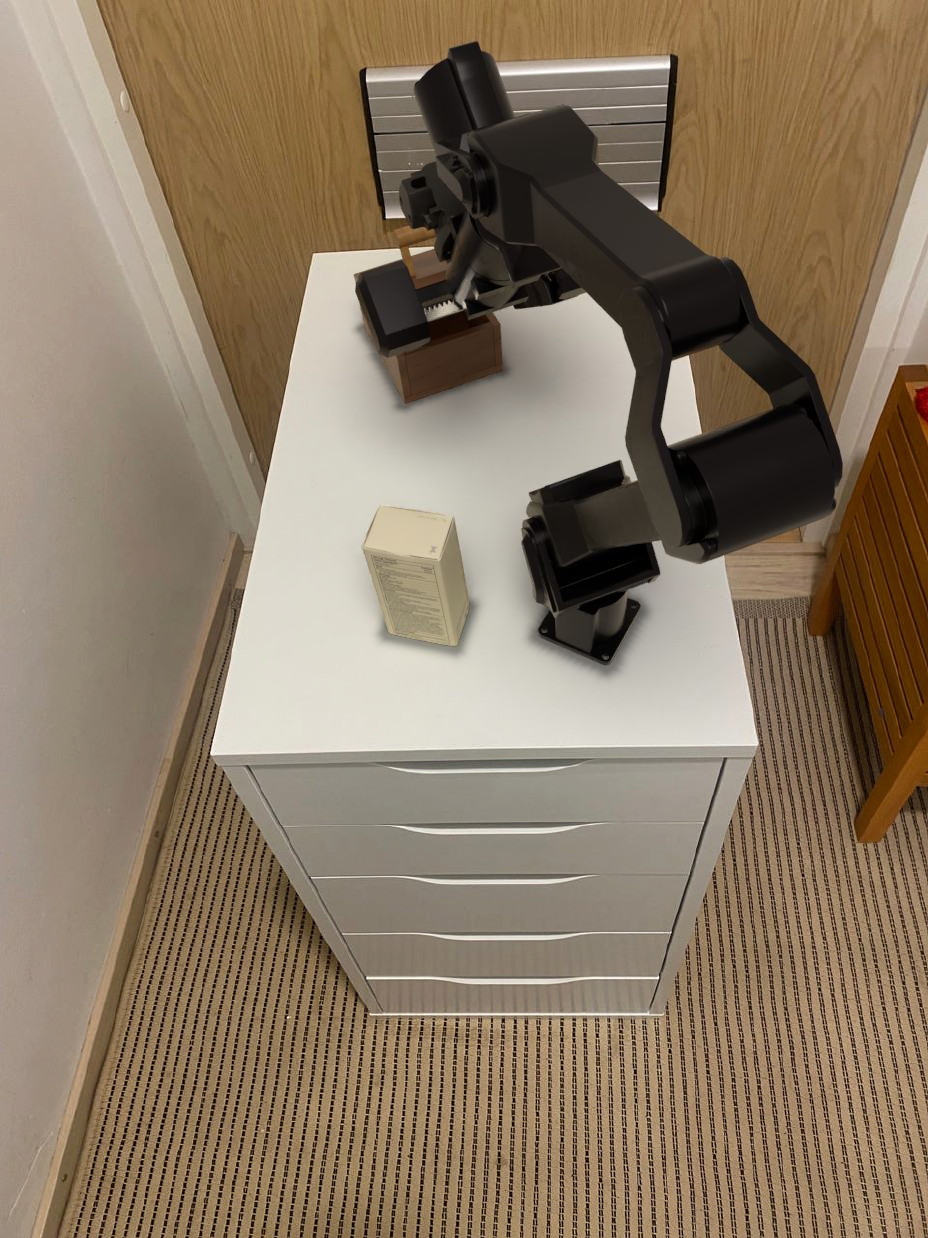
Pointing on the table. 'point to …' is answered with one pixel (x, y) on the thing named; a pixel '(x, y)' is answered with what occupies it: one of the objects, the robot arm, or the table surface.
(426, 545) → the cosmetic box
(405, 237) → the lid
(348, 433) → the table surface
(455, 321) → the wooden box
